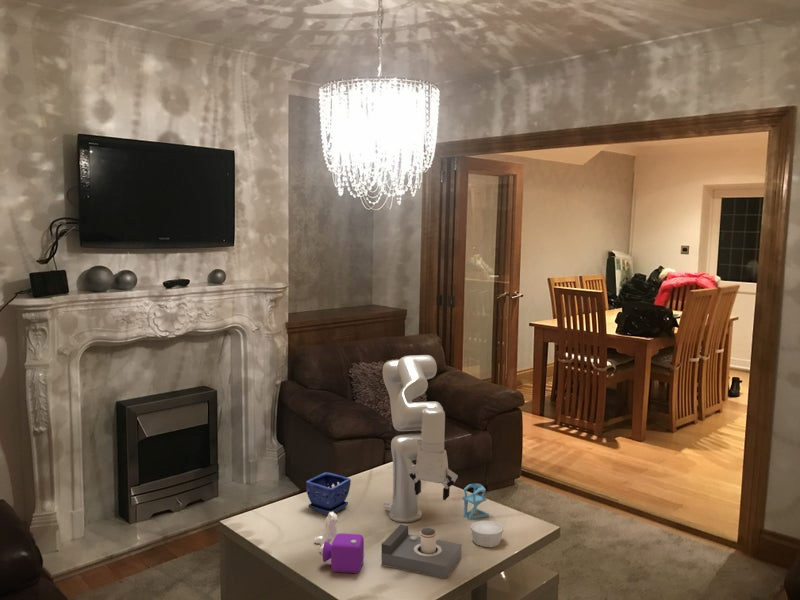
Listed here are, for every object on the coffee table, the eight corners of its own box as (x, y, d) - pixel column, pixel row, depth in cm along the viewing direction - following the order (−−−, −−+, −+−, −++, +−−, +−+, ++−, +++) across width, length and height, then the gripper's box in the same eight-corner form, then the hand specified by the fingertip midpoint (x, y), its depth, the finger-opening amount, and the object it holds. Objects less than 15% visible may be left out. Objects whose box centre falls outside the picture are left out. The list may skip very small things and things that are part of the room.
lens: (418, 560, 212) (418, 532, 211) (424, 553, 217) (423, 526, 216) (432, 563, 210) (432, 535, 209) (438, 556, 214) (438, 529, 213)
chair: (459, 515, 250) (459, 484, 249) (474, 509, 255) (475, 479, 254) (473, 522, 244) (473, 491, 243) (489, 516, 249) (489, 485, 248)
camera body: (381, 564, 211) (381, 544, 210) (400, 543, 226) (400, 524, 225) (445, 578, 203) (446, 557, 202) (461, 556, 217) (461, 535, 217)
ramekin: (465, 537, 231) (465, 522, 231) (492, 532, 235) (493, 518, 235) (480, 551, 221) (480, 536, 221) (508, 545, 225) (509, 531, 225)
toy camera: (321, 559, 214) (321, 530, 213) (363, 558, 215) (363, 528, 215) (320, 576, 204) (320, 545, 203) (364, 574, 205) (364, 544, 204)
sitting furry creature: (313, 542, 226) (312, 508, 225) (336, 537, 230) (336, 505, 229) (320, 554, 218) (320, 519, 217) (345, 549, 221) (345, 515, 220)
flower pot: (352, 507, 256) (352, 477, 255) (331, 519, 245) (331, 488, 244) (325, 499, 264) (325, 471, 262) (304, 511, 252) (304, 481, 251)
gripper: (403, 445, 213) (403, 495, 214) (454, 453, 206) (452, 505, 208) (412, 438, 219) (411, 487, 221) (461, 446, 213) (460, 496, 214)
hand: (431, 496), depth 214 cm, fingers open, 9 cm apart
